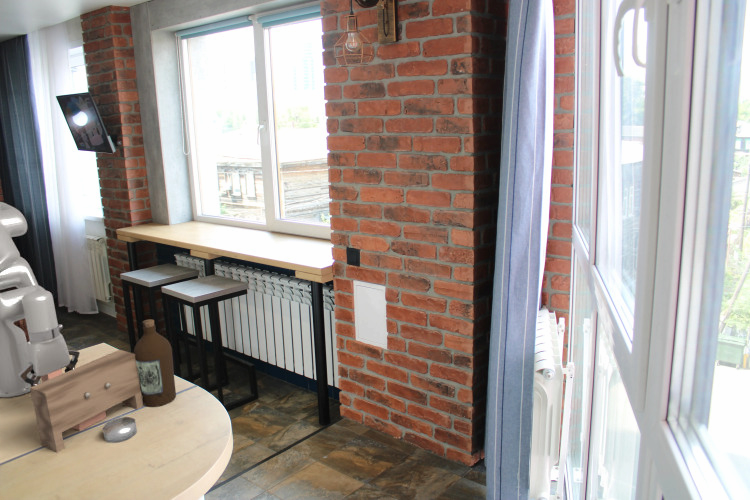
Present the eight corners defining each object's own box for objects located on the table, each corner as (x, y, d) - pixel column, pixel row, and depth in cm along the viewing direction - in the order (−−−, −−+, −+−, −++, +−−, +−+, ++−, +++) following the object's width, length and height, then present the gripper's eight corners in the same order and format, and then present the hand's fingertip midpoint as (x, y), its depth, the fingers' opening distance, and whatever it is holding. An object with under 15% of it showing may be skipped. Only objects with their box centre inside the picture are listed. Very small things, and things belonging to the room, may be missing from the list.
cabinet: (41, 445, 150) (29, 387, 146) (128, 400, 172) (119, 349, 168) (59, 453, 146) (47, 394, 142) (145, 406, 168) (137, 354, 164)
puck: (98, 437, 153) (97, 427, 153) (126, 424, 159) (125, 414, 159) (114, 446, 148) (112, 436, 148) (142, 432, 155) (141, 422, 154)
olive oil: (151, 390, 178) (139, 314, 172) (183, 390, 177) (173, 314, 171) (134, 408, 167) (121, 328, 161) (169, 408, 166) (157, 327, 160)
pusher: (41, 414, 166) (31, 370, 163) (67, 402, 173) (59, 359, 169) (80, 430, 157) (71, 384, 153) (106, 417, 163) (98, 372, 160)
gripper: (65, 321, 172) (75, 374, 176) (5, 342, 157) (17, 399, 161) (80, 325, 168) (90, 379, 172) (20, 347, 153) (32, 405, 158)
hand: (55, 388), depth 167 cm, fingers open, 9 cm apart
